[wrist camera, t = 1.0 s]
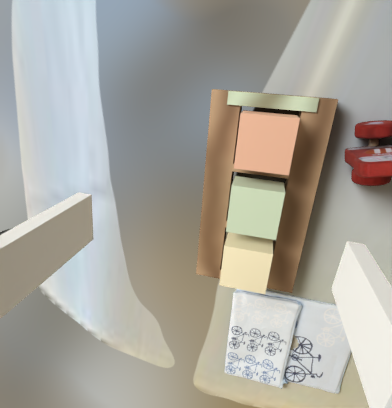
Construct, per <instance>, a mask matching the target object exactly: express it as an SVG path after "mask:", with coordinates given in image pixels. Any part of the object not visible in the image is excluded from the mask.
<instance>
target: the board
mask: <svg viewBox="0 0 392 408" xmlns="http://www.w3.org/2000/svg"><path fill="white" fill-rule="evenodd" d="M337 103H338V99H330V98H317V97H305V96H292V95H280V94H267V93H255V92H242V91H230V90H229V91H228V90H217V89H212V94H211V107H210V118H209V129H208V130H209V131H208V141H207V153H206V165H205V176H204V188H203V199H202V211H201V224H200V235H199V246H198V258H197V270H196V274H199V275H204V276H209V277H214V278H219V279H220V276H221V268H222V260H223V251H224V245H225V239H226V227H227V219H228V211H229V203H230V195H231V187H232V182H233V174H234V172H241V173H249V174H256V175H264V176H272V177H279V178H286V181H285V186H284V188H285V197H284V202H283V207H282V212H281V217H280V222H279V227H278V232H277V237H276V240H274V243H273V257H272V263H271V268H270V273H269V278H268V283H267V288H269V289H275V290H280V291H285V292H290V293H292V290H293V286H294V282H295V278H296V274H297V269H298V265H299V261H300V257H301V253H302V249H303V244H304V240H305V236H306V232H307V228H308V224H309V219H310V215H311V211H312V207H313V203H314V199H315V194H316V190H317V186H318V182H319V178H320V174H321V169H322V165H323V161H324V157H325V153H326V149H327V144H328V140H329V136H330V132H331V128H332V124H333V119H334V115H335V111H336V107H337ZM242 106H250V107H261V108H273V109H284V110H295V111H299V115H298V117H299V118H300V121H299V126H298V131H297V136H296V141H295V146H294V151H293V157H292V162H291V167H290V172H289V176H288V175H281V174H273V173H265V172H257V171H250V170H242V169H234V162H235V154H236V146H237V138H238V130H239V122H240V114H241V110H242Z"/></svg>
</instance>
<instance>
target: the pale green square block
mask: <svg viewBox="0 0 392 408" xmlns="http://www.w3.org/2000/svg"><path fill="white" fill-rule="evenodd" d="M284 197H285V188H284V182H276V181H269V180H261V179H254V178H246V177H239V176H235V178H234V181H233V183H232V187H231V195H230V203H229V211H228V219H227V227H226V232H231V233H237V234H242V235H248V236H254V237H260V238H266V239H272V240H276V237H277V232H278V227H279V222H280V217H281V212H282V207H283V202H284Z"/></svg>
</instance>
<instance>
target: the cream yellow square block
mask: <svg viewBox="0 0 392 408" xmlns="http://www.w3.org/2000/svg"><path fill="white" fill-rule="evenodd" d="M272 257H273V240H272V239H266V238H260V237H254V236H248V235H242V234H237V233H231V232H228V234H227V238H226V241H225V245H224V251H223V260H222V268H221V276H220V284H219V285H221V286H226V287H231V288H236V289H241V290H246V291H250V292H255V293H260V294H265V293H266V288H267V283H268V278H269V273H270V268H271V263H272Z"/></svg>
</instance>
